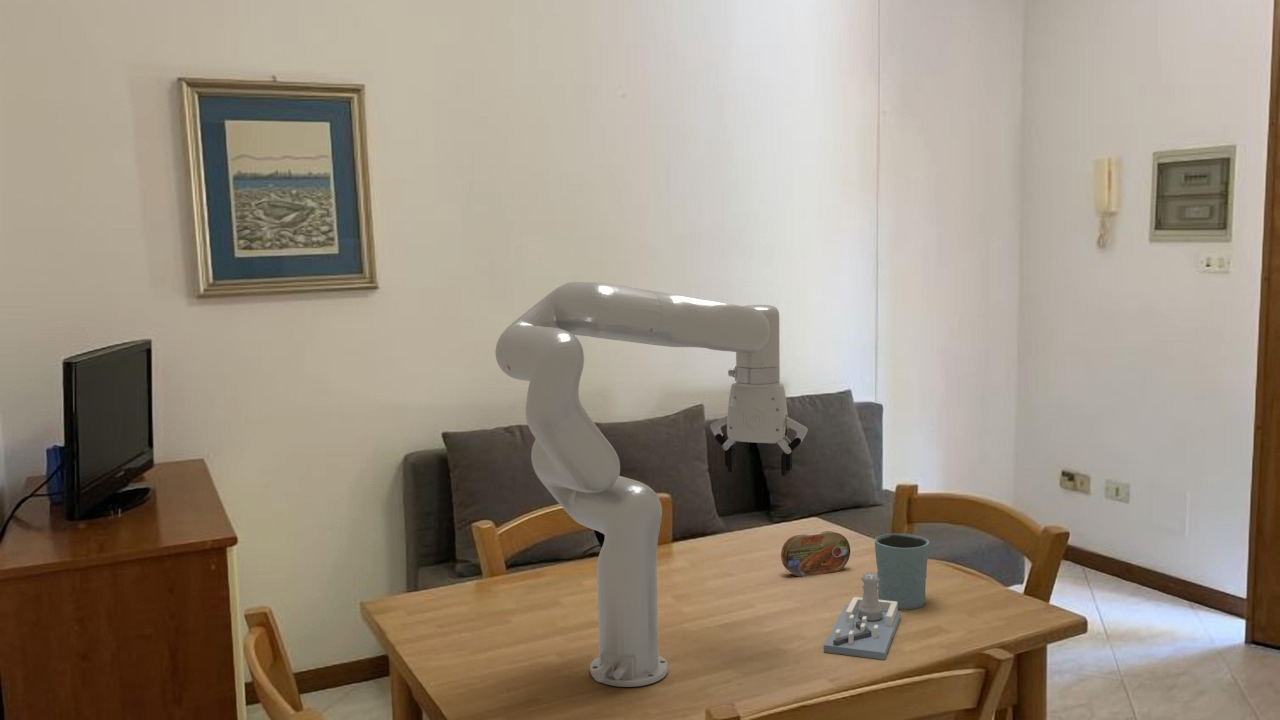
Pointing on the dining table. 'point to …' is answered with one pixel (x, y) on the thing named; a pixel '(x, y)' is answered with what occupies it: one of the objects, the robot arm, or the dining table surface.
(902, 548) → the teal cup
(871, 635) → the board
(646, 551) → the robot arm
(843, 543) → the tin
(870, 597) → the rook chess piece
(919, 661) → the dining table surface
